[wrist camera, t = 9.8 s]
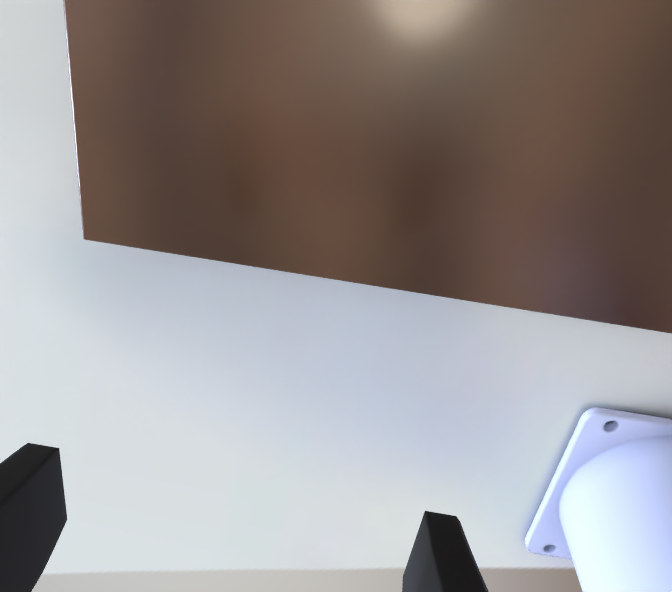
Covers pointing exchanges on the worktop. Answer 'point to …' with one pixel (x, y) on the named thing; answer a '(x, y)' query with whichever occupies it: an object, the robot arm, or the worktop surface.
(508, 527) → the worktop surface
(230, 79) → the walnut board
